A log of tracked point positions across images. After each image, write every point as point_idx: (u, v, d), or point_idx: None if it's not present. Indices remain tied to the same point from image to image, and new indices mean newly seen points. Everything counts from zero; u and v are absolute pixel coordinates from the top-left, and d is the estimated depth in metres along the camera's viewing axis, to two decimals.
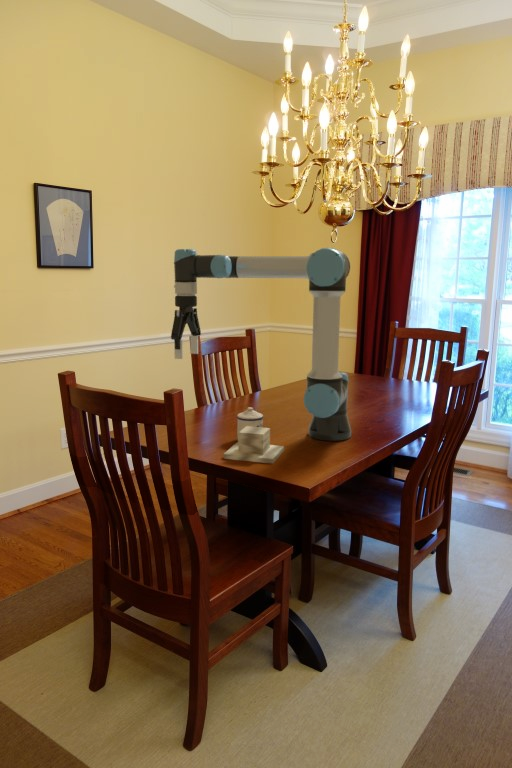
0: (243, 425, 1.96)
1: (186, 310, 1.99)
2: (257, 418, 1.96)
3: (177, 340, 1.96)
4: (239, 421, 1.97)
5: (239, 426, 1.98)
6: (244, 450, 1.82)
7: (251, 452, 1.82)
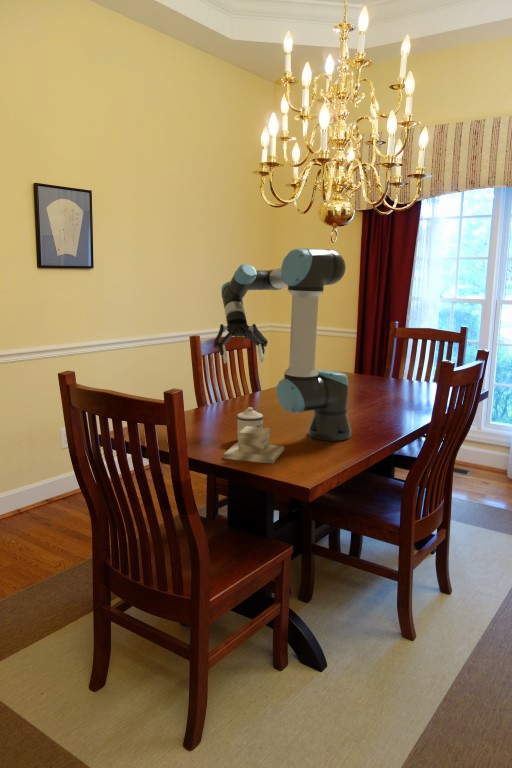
0: (243, 425, 1.96)
1: (232, 324, 2.19)
2: (257, 418, 1.96)
3: (219, 346, 2.13)
4: (239, 421, 1.97)
5: (239, 426, 1.98)
6: (244, 450, 1.82)
7: (251, 452, 1.82)
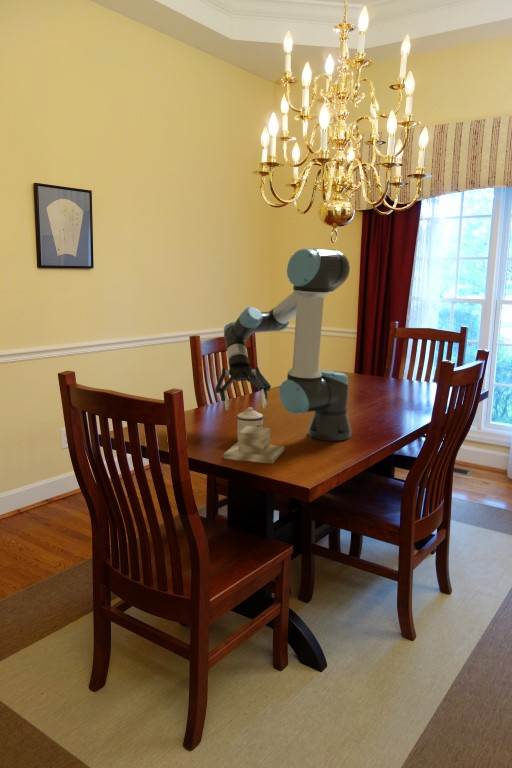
0: (243, 425, 1.96)
1: (234, 368, 2.13)
2: (257, 418, 1.96)
3: (220, 392, 2.07)
4: (239, 421, 1.97)
5: (239, 426, 1.98)
6: (244, 450, 1.82)
7: (251, 452, 1.82)
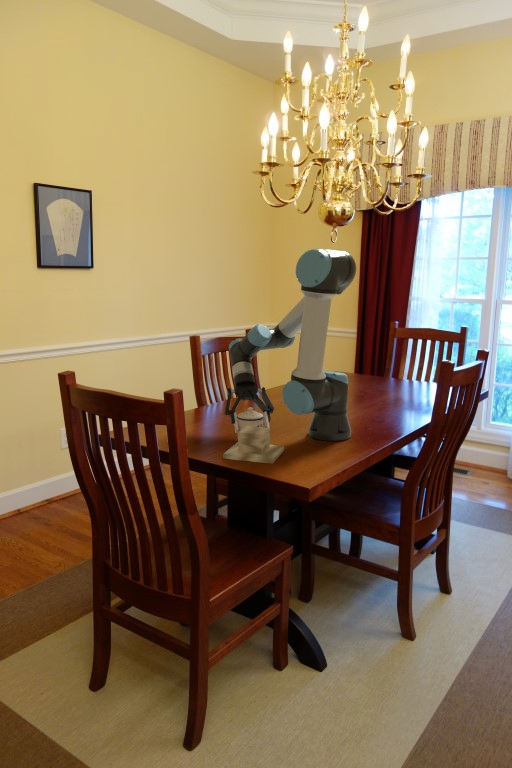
0: (243, 425, 1.96)
1: (239, 387, 2.07)
2: (257, 418, 1.96)
3: (230, 414, 2.00)
4: (239, 421, 1.97)
5: (239, 426, 1.98)
6: (244, 450, 1.82)
7: (251, 452, 1.82)
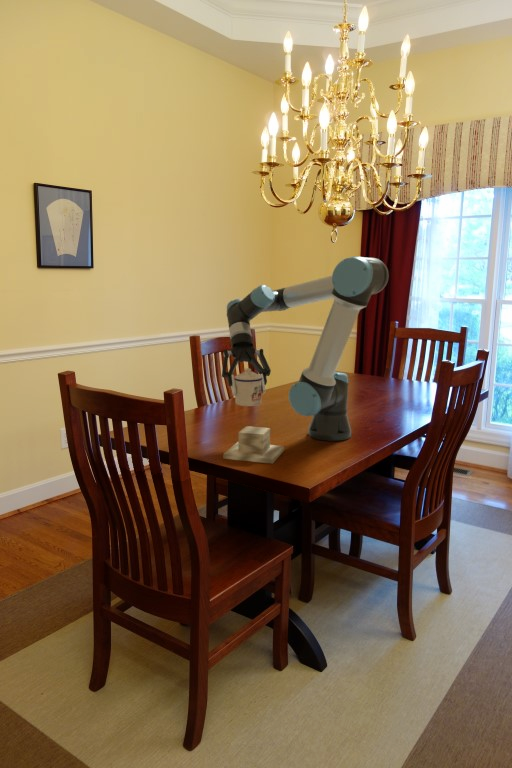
0: (241, 386, 1.88)
1: (236, 348, 1.99)
2: (255, 379, 1.88)
3: (227, 376, 1.92)
4: (237, 382, 1.89)
5: (237, 388, 1.90)
6: (244, 450, 1.82)
7: (251, 452, 1.82)
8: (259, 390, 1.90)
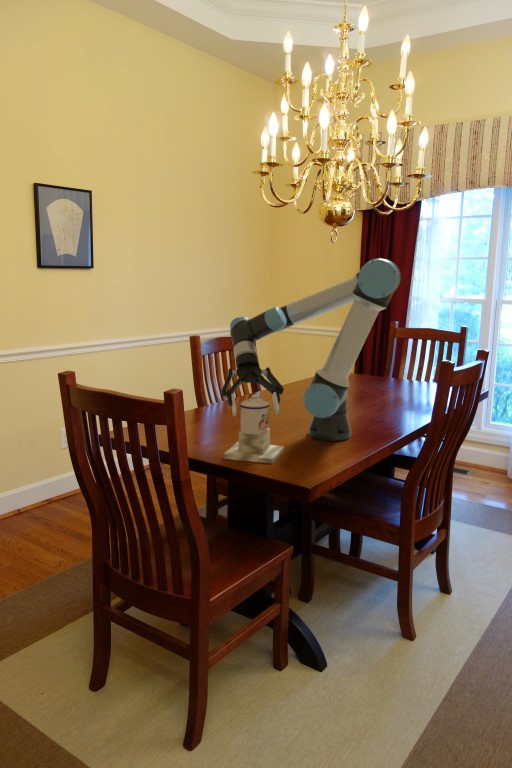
0: (247, 414, 1.78)
1: (242, 368, 1.88)
2: (263, 406, 1.78)
3: (227, 396, 1.82)
4: (243, 409, 1.79)
5: (243, 415, 1.79)
6: (244, 450, 1.82)
7: (251, 452, 1.82)
8: (266, 418, 1.80)
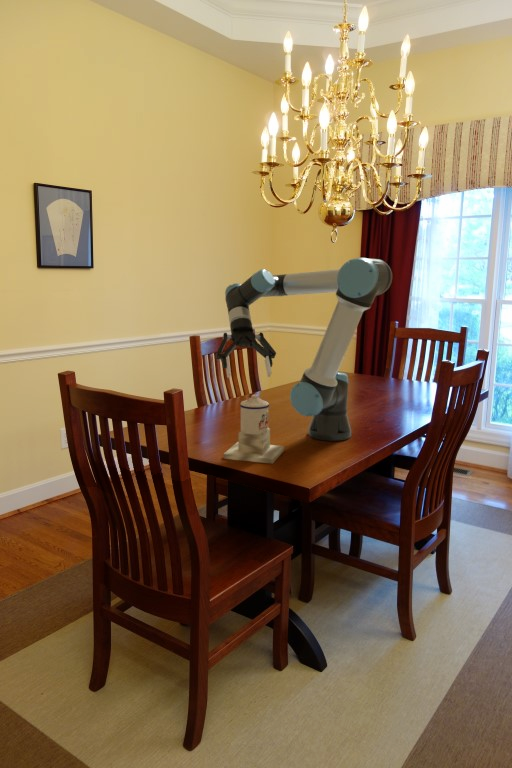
0: (247, 414, 1.78)
1: (236, 333, 1.97)
2: (263, 406, 1.78)
3: (222, 358, 1.91)
4: (243, 409, 1.79)
5: (243, 415, 1.79)
6: (244, 450, 1.82)
7: (251, 452, 1.82)
8: (266, 418, 1.80)
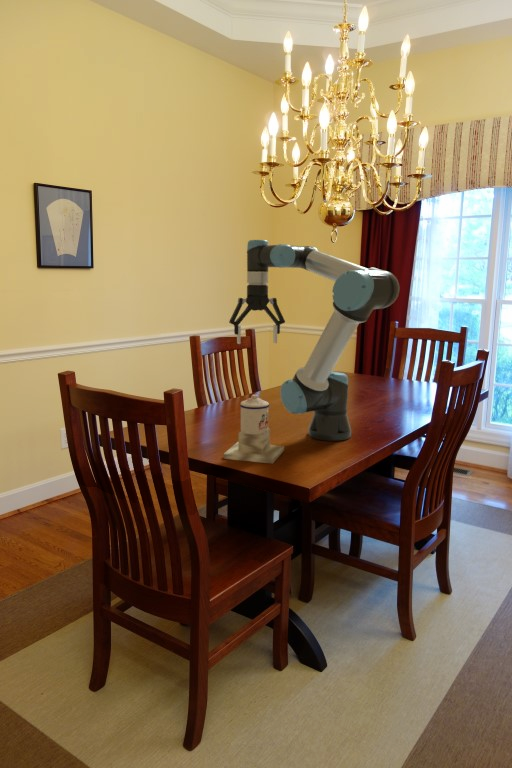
0: (247, 414, 1.78)
1: (252, 298, 2.08)
2: (263, 406, 1.78)
3: (234, 326, 2.09)
4: (243, 409, 1.79)
5: (243, 415, 1.79)
6: (244, 450, 1.82)
7: (251, 452, 1.82)
8: (266, 418, 1.80)
